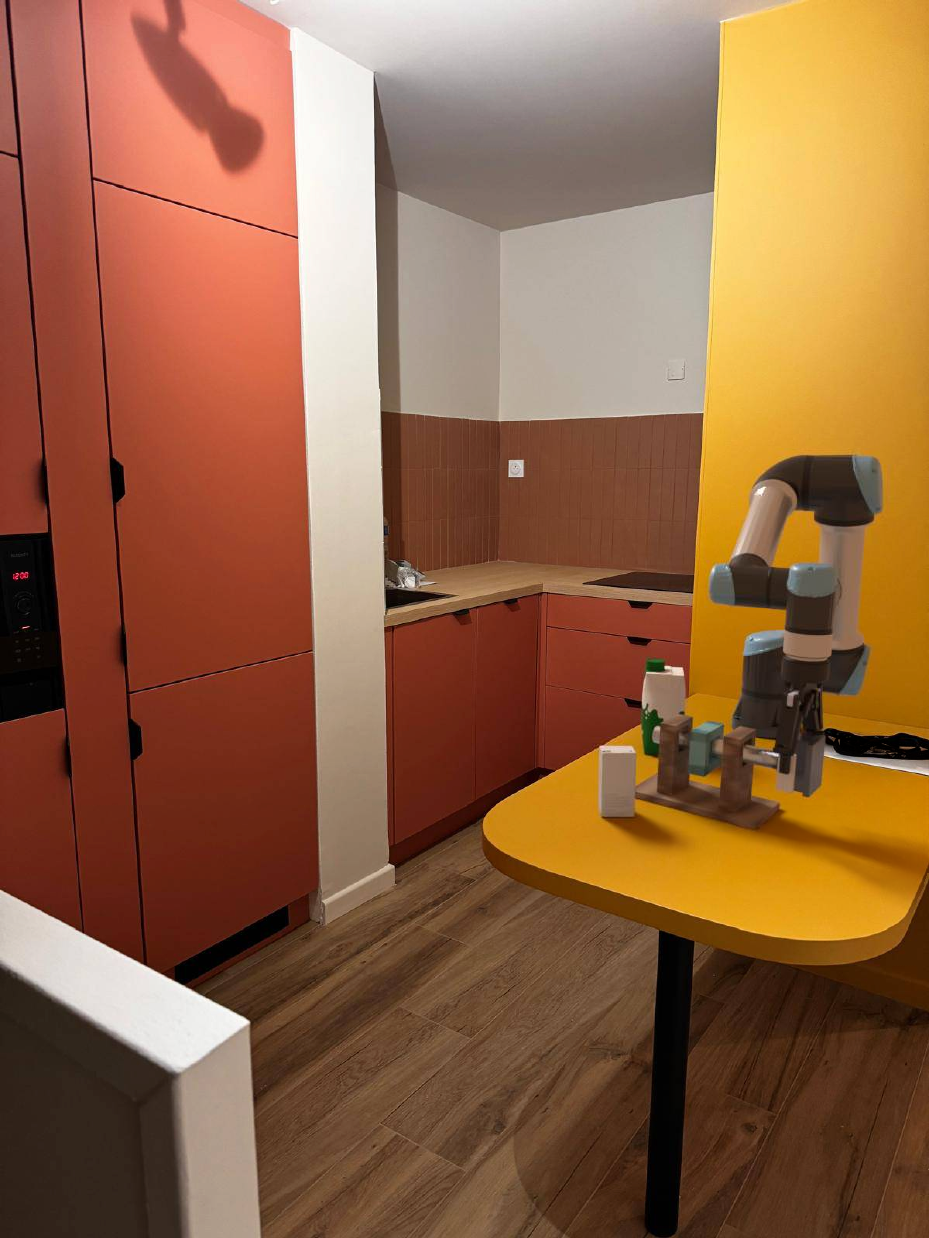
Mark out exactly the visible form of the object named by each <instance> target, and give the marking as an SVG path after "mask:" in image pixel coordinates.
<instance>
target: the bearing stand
mask: <svg viewBox="0 0 929 1238" xmlns="http://www.w3.org/2000/svg"><path fill="white" fill-rule="evenodd" d="M693 722H694V716H690V715H687V714H686V715H681V714H677V715H675V716H673V717H671V718H669V719H667V720H665V721H663V722H661V723H660V740H659V755H658V760H657V761H658V762H657V773H655V774H652V775H651V776H650V777H648V778H647V779H645V780H643V781H642V782H640V783H638V784H636V785H635V799H640V800H643V801H647V802H650V803H655V804H658V805H660V806H661V805H662V806H666V807H669V808H673V809H676V810H681V811H684V812H686V813H687V812H688V813H691V814H694V815H699V816H703V817H706V818H710V819H714V820H717V821H721V822H725V823H728V824H732V825H735V826H738V827H739V826H740V827H743V828H746V829H751V830H754V831H757V829H758V828H760V827H761V826H762V825H763V824H764V823H765V822H766V821H768V819H770V818H771V817H772V816H773V815H774V814H775V813H776V812H777V811H779V810H780V807H781V806H780V805H781V802H780V801H777V800H771V799H768V798H765V797H760V796H756V795H752V794H753V793H752V791H753V780H754V779H753V777H754V766H755V765H753V764H748V763H744V762H742V761H743V747H744V744H746V745H751V746H756V737H757V736H756V729H752V728H747V727H742V726H739V727H738V728H736V729H733V730H731V731H730V732H727V733H726V734H725V735H723V753H722V765H721V769H720V771H721V772H720V784H719V786H714V785H712V784H707V783H702V782H699V781H694V780H690V775H691V774H689V773H688V768H689V751H690V750H686V749H681V748H679V731H685V732H689V733H691V730H693V724H694V723H693Z"/></svg>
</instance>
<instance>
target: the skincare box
mask: <svg viewBox="0 0 929 1238" xmlns="http://www.w3.org/2000/svg"><path fill="white" fill-rule="evenodd" d="M598 749H599V751H598V753H599V755H598V796H597V797H598V801H597V802H598V805H597V807H598V811H599V814H600V816H601V817H602V818H603V817H604V818H634V817H635V813H636V811H635V810H636V809H635V807H636V806H635V805H636V798H635V786H636V781H637V780H636V775H637V773H636V772H637V753H636V750H635V749H634V747H633V745H599V748H598Z"/></svg>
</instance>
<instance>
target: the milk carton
mask: <svg viewBox="0 0 929 1238" xmlns="http://www.w3.org/2000/svg"><path fill="white" fill-rule="evenodd" d="M684 673H685V672H684V668H683V667H681V666H680V667H676V666H670V665H666V661H665V659H663V658H657V657H655V658H653V657H650V658H647V659H645V668H644V679H643V687H642V696H641V716H640V717H641V718H640V726H641V738H642V745H643V747H642V748H643V754H644V755H653V756H659V743H655V742H653V739H652V735H653V731H654V728H655V727H656V726H660V723H661V722H663V721H665V720H667V719H669V718H671V717H673V716H675V715H677V714H681V715H685V714H686V697H687V695H686V694H687V693H686V692H687V691H686V680H685V679H686V678H685V674H684Z"/></svg>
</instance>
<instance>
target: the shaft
mask: <svg viewBox="0 0 929 1238" xmlns="http://www.w3.org/2000/svg"><path fill="white" fill-rule="evenodd" d="M690 734H691V733H689V732H685V731H679V748H681V749H686V750H690ZM652 739H653V742H655V743H659V740H660V726H656V727H655V728H654V731H653V735H652ZM825 746H826V735H825V734H824V735H818V736H811V735H806V734H805V733H801V732H800V733H799V737H798V741H797V745H796V749H795V754H796V767H795V779H794V792H798V793H800V794H801V793H802V794H801V795H802V797H803V798H804V797H805V798H810V797H811V796H812V795H813V794H814V793H815V792H816V791H817V790H819V788H821V786H822V782H823V780H822V779H823V771H824V770H823V768H824V756H825ZM784 747H786V746H785V745H784ZM722 753H723V739H718V738H715V739H713V740H712V741H710V752H709V755H713V756H717V757H722ZM742 762H744V763H748V764H753V765H754V766H757V767H758V766H759V767H763V768H767V769H772V770H776V771H777V765H778V753H776V752H773V749H770V748H765V747H760V746H756V745H755V746H751V745H746V744H744V747H743V761H742Z"/></svg>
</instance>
